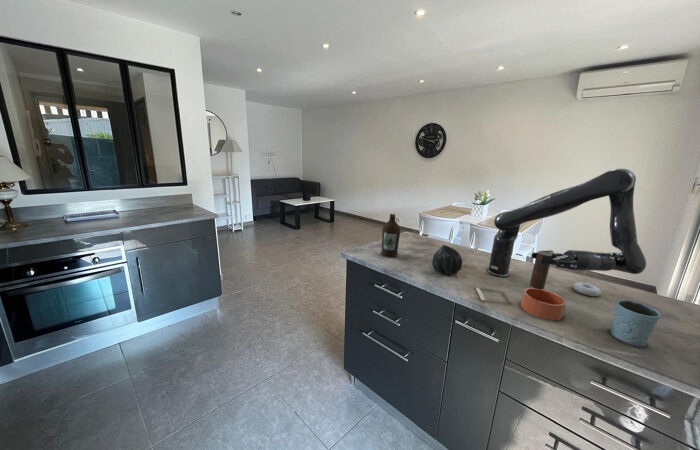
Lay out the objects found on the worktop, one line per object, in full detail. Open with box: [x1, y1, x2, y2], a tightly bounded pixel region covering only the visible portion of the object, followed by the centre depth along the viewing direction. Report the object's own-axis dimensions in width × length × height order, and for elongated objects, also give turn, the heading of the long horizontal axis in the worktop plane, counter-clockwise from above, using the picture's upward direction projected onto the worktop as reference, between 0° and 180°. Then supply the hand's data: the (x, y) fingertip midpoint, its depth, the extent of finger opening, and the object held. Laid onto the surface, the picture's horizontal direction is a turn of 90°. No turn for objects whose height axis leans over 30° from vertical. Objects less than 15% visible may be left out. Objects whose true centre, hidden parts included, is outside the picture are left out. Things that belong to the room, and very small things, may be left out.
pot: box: [520, 287, 567, 321], centre depth 105 cm, size 14×14×6 cm
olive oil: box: [381, 213, 401, 258], centre depth 157 cm, size 11×11×25 cm
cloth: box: [475, 287, 487, 302], centre depth 115 cm, size 11×11×1 cm
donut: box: [572, 281, 602, 297], centre depth 123 cm, size 10×3×10 cm
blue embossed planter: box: [610, 299, 662, 348], centre depth 89 cm, size 10×10×12 cm
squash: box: [431, 244, 463, 276], centre depth 138 cm, size 14×15×15 cm
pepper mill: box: [529, 250, 552, 290], centre depth 103 cm, size 5×5×14 cm
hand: (536, 258), depth 102 cm, fingers closed on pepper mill, 5 cm apart
